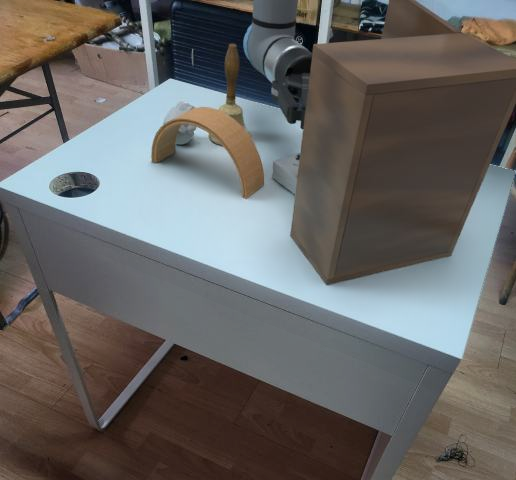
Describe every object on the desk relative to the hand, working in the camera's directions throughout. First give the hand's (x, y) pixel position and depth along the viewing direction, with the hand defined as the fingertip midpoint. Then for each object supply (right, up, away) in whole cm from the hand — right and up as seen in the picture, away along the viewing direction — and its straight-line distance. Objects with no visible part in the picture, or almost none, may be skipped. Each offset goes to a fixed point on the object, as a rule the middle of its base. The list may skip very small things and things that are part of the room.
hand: (362, 131), depth 69 cm
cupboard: (+2, -15, +6) cm, 16 cm away
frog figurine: (-29, +8, +25) cm, 39 cm away
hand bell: (-20, +11, +27) cm, 35 cm away
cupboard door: (+10, +1, +20) cm, 22 cm away
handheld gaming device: (-4, -1, +18) cm, 19 cm away
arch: (-23, 0, +17) cm, 29 cm away
